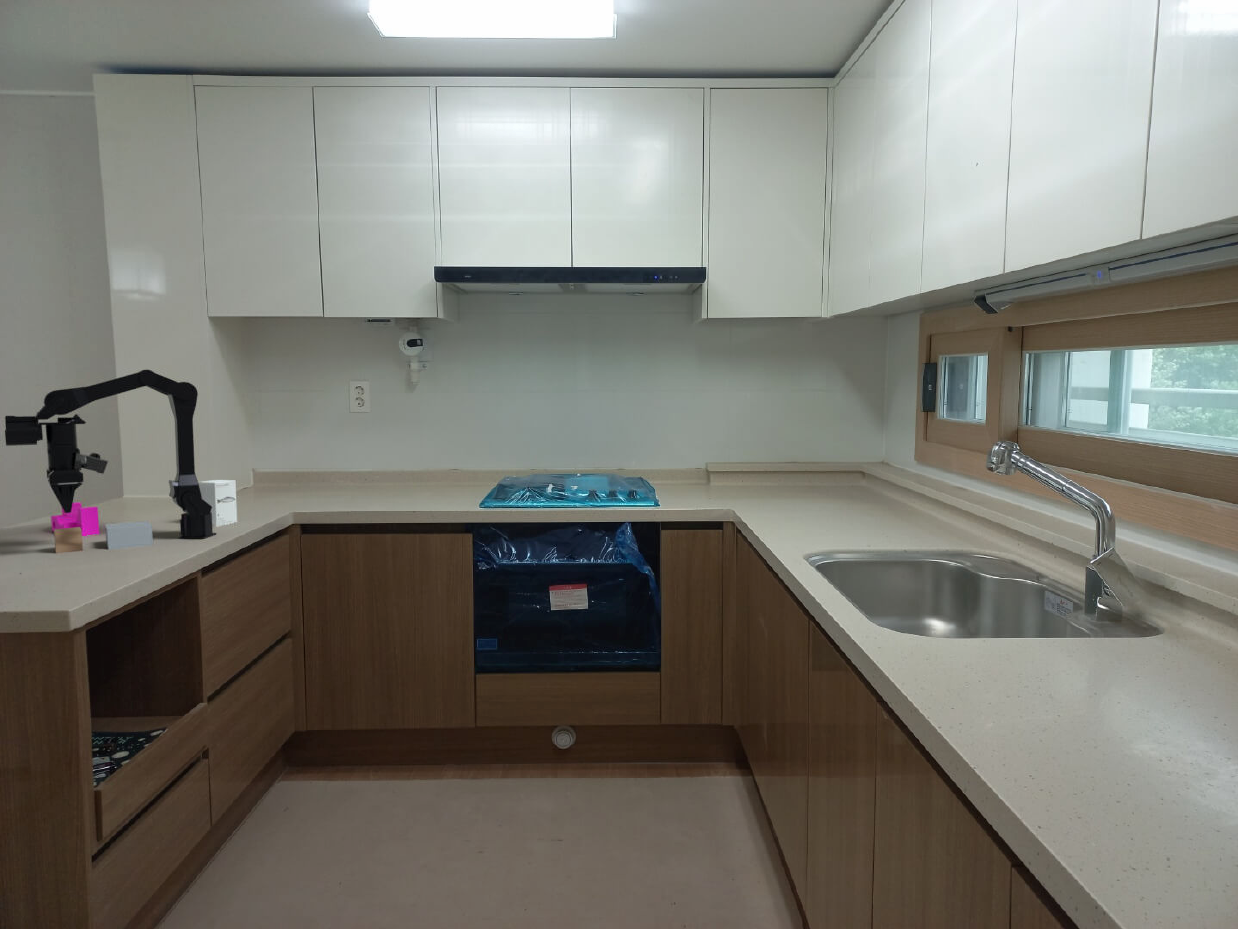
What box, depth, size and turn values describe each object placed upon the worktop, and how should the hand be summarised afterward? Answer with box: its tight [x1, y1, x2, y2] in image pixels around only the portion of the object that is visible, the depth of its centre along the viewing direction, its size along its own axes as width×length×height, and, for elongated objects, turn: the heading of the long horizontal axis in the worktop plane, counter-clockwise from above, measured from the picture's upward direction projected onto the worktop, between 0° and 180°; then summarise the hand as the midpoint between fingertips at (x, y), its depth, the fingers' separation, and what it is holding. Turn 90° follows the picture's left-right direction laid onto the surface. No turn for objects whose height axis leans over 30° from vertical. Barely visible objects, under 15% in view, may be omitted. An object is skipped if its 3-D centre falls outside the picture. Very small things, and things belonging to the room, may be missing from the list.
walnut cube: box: [53, 527, 84, 554], centre depth 178 cm, size 5×5×5 cm
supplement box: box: [198, 479, 238, 528], centre depth 211 cm, size 7×7×13 cm
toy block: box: [50, 501, 100, 537], centre depth 200 cm, size 15×6×8 cm, turn 52°
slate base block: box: [104, 520, 154, 550], centre depth 185 cm, size 9×9×5 cm
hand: (66, 510), depth 177 cm, fingers open, 9 cm apart
